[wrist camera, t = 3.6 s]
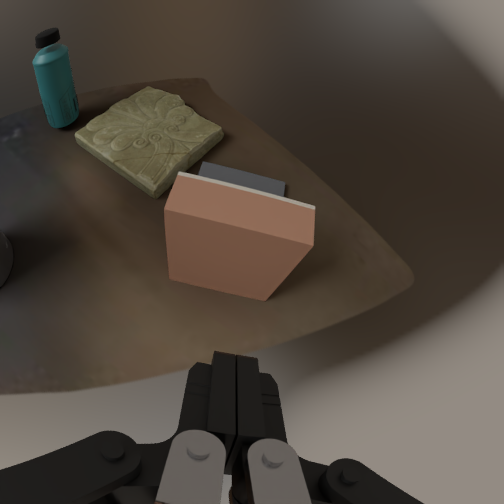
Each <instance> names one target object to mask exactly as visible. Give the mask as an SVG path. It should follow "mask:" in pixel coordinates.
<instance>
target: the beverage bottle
mask: <svg viewBox="0 0 504 504" xmlns="http://www.w3.org/2000/svg"><path fill="white" fill-rule="evenodd" d="M59 39H60V35H59V30H58V28H51V29H48V30H45V31H43V32H41V33H39V34H38V35H37V36H36V38H35V40H36V48H43V49H42V50H40V51H39V52H38V53H37V55H36V56H35V58H34V60H33V65H34V69H35V74H36V78H37V82H38V86H39V91H40V95H41V98H42V102H43V105H44V106H43V107H44V112H45V114H46V116H47V118H48V121H49V122H48V123H49V124H50V125H51V126H52V127H54V128H61V127H65V126H67V125H69V124H71V123H72V122H73V121H75V120H76V118H77V117H78V115H79V108H78V107H79V105H78V104H77V103H78V100H77V99H76V98H77V95H76V92H75V87H74V82H73V78H72V72H71V71H72V70H71V67H70V61H69V55H68V47H67V46H65V45H62V44H54V43H56V42H57V41H58V40H59ZM44 47H45V48H44Z"/></svg>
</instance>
